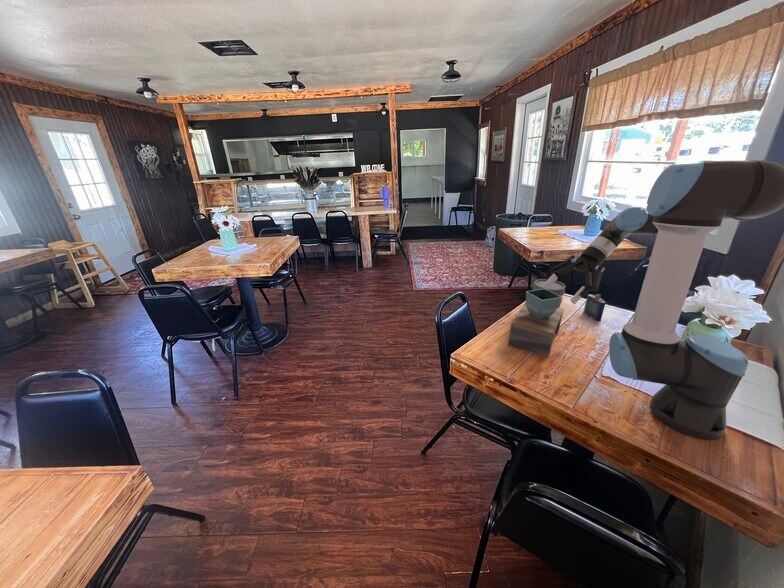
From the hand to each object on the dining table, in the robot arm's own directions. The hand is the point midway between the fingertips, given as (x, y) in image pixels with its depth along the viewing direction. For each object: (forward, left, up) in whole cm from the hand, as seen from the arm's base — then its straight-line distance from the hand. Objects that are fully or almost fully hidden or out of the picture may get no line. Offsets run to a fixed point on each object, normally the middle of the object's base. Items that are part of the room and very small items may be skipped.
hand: (557, 294), depth 118 cm
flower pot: (-6, +4, -8) cm, 10 cm away
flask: (+26, -13, -18) cm, 34 cm away
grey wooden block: (-6, +4, -17) cm, 19 cm away
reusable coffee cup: (+16, +5, -18) cm, 24 cm away
